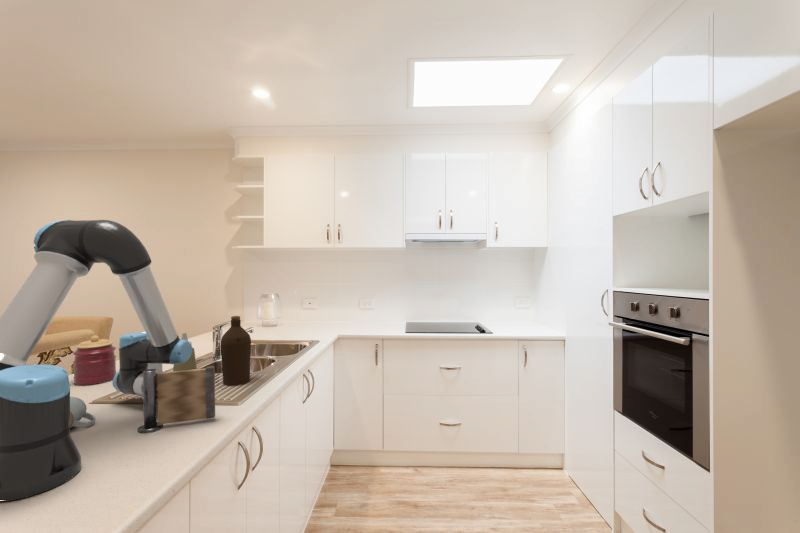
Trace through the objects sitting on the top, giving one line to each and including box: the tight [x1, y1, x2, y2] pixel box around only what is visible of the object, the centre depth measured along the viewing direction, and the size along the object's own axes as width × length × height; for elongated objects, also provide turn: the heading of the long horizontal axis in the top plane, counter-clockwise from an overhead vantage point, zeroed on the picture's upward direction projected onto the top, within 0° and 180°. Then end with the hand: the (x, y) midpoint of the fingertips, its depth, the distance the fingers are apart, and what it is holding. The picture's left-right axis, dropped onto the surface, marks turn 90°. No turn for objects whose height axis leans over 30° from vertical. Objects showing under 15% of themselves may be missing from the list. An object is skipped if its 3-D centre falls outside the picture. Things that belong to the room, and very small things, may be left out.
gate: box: [157, 365, 216, 425], centre depth 106 cm, size 14×2×14 cm, turn 109°
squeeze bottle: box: [172, 332, 198, 371], centre depth 147 cm, size 8×8×18 cm
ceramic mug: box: [70, 396, 97, 429], centre depth 105 cm, size 11×8×8 cm
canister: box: [72, 334, 117, 386], centre depth 146 cm, size 13×13×18 cm
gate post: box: [136, 369, 164, 434], centre depth 103 cm, size 6×6×16 cm
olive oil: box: [220, 315, 252, 387], centre depth 143 cm, size 11×11×25 cm
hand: (208, 394), depth 110 cm, fingers closed
